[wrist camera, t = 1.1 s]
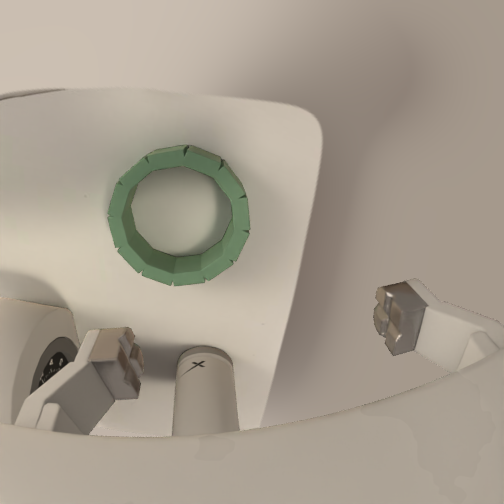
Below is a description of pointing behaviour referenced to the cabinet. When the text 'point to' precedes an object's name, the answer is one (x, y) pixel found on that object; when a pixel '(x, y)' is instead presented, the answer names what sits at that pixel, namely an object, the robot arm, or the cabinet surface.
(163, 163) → the ring
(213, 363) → the travel mug
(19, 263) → the cabinet surface
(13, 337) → the alarm clock
